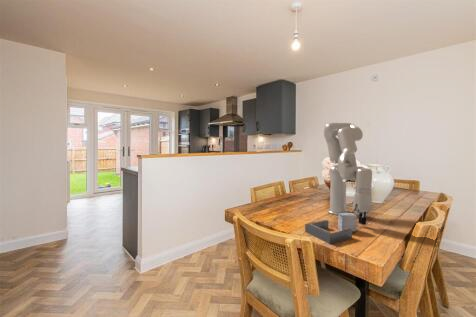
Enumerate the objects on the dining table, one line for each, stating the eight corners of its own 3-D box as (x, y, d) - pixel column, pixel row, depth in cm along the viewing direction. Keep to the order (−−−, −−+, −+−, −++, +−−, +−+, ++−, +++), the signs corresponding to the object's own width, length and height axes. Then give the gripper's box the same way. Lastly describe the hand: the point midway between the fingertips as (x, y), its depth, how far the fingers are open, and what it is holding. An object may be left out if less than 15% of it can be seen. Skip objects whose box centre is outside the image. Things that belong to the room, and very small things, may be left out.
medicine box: (352, 228, 122) (352, 212, 121) (356, 231, 117) (357, 215, 117) (337, 228, 121) (338, 212, 121) (341, 232, 117) (342, 215, 116)
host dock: (326, 227, 124) (326, 218, 123) (352, 238, 109) (352, 228, 109) (305, 231, 117) (305, 223, 117) (329, 244, 103) (329, 234, 102)
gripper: (365, 188, 130) (364, 219, 131) (348, 190, 123) (347, 223, 124) (378, 190, 123) (377, 223, 124) (360, 193, 117) (359, 228, 118)
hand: (362, 223), depth 124 cm, fingers closed
